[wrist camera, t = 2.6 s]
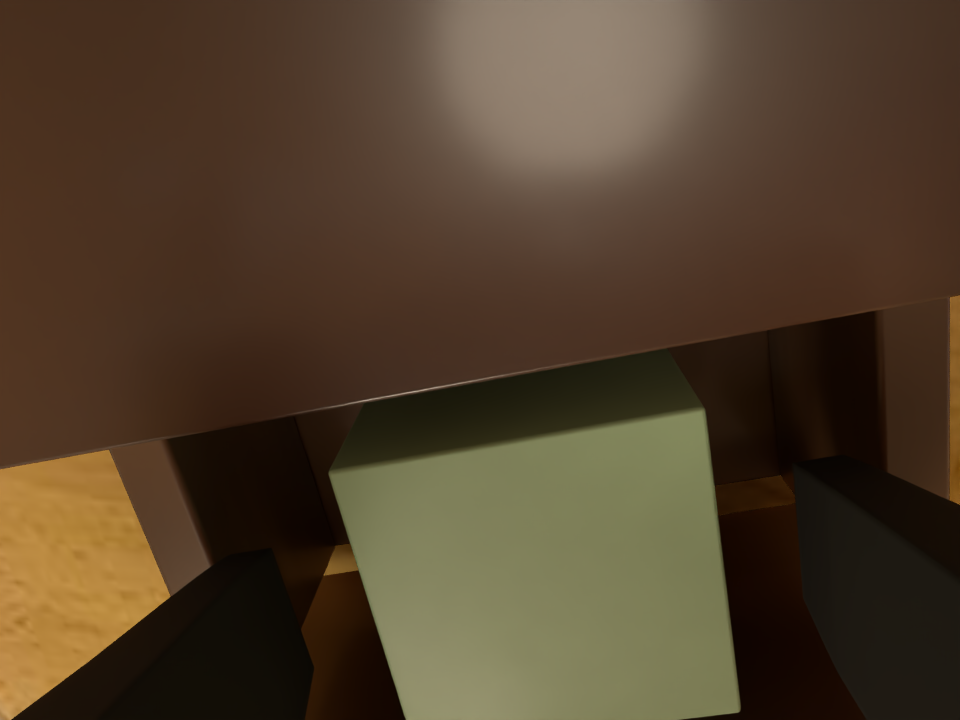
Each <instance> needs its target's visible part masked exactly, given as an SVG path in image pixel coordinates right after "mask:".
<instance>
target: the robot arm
mask: <svg viewBox="0 0 960 720" xmlns="http://www.w3.org/2000/svg"><path fill="white" fill-rule="evenodd" d="M792 464H793V477H794V489H795V502H796V515H797V528H798V540H799V553H800V566H801V579H802V591H803V599H804V601H805V603H806V605H807V608H808V610H809V612H810V614H811V617H812V619H813V621H814V623H815V625H816V628H817V630H818V632H819V634H820V637H821V639H822V641H823V643H824V645H825V647H826V649H827V651H828V653H829V655H830V657H831V660H832V662H833V664H834V666H835V668H836V670H837V672H838V674H839V675H840V677H841V679H842V680H843V682H844V684H845V685H846V687H847V689H848V690H849V692H850V693H851V695H852V697H853V698H854V700H855V702H856V703H857V705H858V706H859V708H860V710H861V711H862V713H863V715H864V716H865V718H866V719H867V720H960V505H959V504H957V503H954V502H952V501H950V500H948V499H945V498H943V497H941V496H939V495H936V494H934V493H932V492H930V491H928V490H925V489H923V488H921V487H919V486H916V485H914V484H912V483H910V482H908V481H905V480H903V479H901V478H899V477H896V476H894V475H892V474H890V473H887V472H885V471H883V470H881V469H878V468H876V467H874V466H871V465H869V464H867V463H864V462H862V461H859V460H857V459H854V458H851V457H849V456H846V455H837V456H830V457H824V458H818V459H812V460H806V461H800V462H794V463H792ZM313 672H314V665H313V662H312V659H311V657H310V654H309V651H308V648H307V645H306V643H305V640H304V637H303V634H302V631H301V629H300V626H299V623H298V620H297V617H296V615H295V612H294V609H293V606H292V603H291V601H290V598H289V595H288V592H287V589H286V587H285V584H284V581H283V578H282V575H281V573H280V570H279V567H278V564H277V561H276V559H275V556H274V553H273V550H272V548H266V549H260V550H254V551H248V552H241V553H235V554H229V555H228V556H226V557H225V558H223V559H222V560H220V561H218V562H217V563H215V564H214V565H212V566H211V567H209V568H208V569H207V570H205V571H204V572H203V573H201V574H200V575H198V576H197V577H196V578H195V579H193V580H192V581H191V582H189V583H188V584H187V585H185V586H184V587H183V588H181V589H180V590H179V591H178V592H176V593H175V594H174V595H173V596H171V597H170V598H169V599H167V600H166V601H165V602H164V603H162V604H161V605H160V606H159V607H157V608H156V609H155V610H154V611H152V612H151V613H150V614H149V615H147V616H146V617H145V618H143V619H142V620H141V621H140V622H138V623H137V624H136V625H135V626H133V627H132V628H131V629H130V630H128V631H127V632H126V633H125V634H123V635H122V636H121V637H120V638H118V639H117V640H116V641H114V642H113V643H112V644H111V645H109V646H108V647H107V648H106V649H104V650H103V651H102V652H101V653H99V654H98V655H97V656H95V657H94V658H93V659H92V660H90V661H89V662H88V663H86V664H85V665H84V666H82V667H81V668H80V669H78V670H77V671H76V672H74V673H73V674H72V675H70V676H69V677H68V678H66V679H65V680H64V681H62V682H61V683H60V684H58V685H57V686H56V687H54V688H53V689H52V690H50V691H49V692H48V693H46V694H45V695H44V696H42V697H41V698H40V699H38V700H37V701H36V702H34V703H33V704H32V705H30V706H29V707H28V708H26V709H25V710H24V711H22V712H21V713H20V714H18V715H17V716H16V717H14V718H13V719H12V720H305V716H306V711H307V706H308V700H309V695H310V689H311V684H312V678H313Z"/></svg>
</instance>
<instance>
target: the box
mask: <svg viewBox="0 0 960 720" xmlns="http://www.w3.org/2000/svg"><path fill="white" fill-rule="evenodd" d="M329 477H330V481H331V484H332V487H333V490H334V493H335V496H336V500H337V503H338V506H339V509H340V512H341V515H342V519H343V522H344V525H345V528H346V531H347V535H348V538H349V541H350V544H351V547H352V550H353V554H354V557H355V560H356V563H357V566H358V570H359V573H360V576H361V579H362V582H363V585H364V589H365V592H366V595H367V598H368V601H369V605H370V608H371V611H372V614H373V617H374V620H375V624H376V627H377V630H378V633H379V636H380V640H381V643H382V646H383V649H384V652H385V655H386V659H387V662H388V665H389V668H390V671H391V675H392V678H393V681H394V684H395V687H396V690H397V694H398V697H399V700H400V703H401V706H402V709H403V713H404V716H405V719H406V720H681V719H690V718H698V717H706V716H714V715H722V714H731V713H738V712H740V710H741V703H740V694H739V686H738V677H737V669H736V661H735V652H734V644H733V636H732V627H731V619H730V610H729V602H728V594H727V585H726V577H725V569H724V560H723V552H722V543H721V535H720V527H719V518H718V510H717V501H716V493H715V485H714V476H713V468H712V460H711V451H710V443H709V434H708V426H707V418H706V410H705V408H704V407H703V405H702V403H701V402H700V400H699V399H698V397H697V395H696V394H695V392H694V391H693V389H692V387H691V386H690V384H689V383H688V381H687V380H686V378H685V376H684V375H683V373H682V372H681V370H680V368H679V367H678V365H677V364H676V362H675V360H674V359H673V357H672V356H671V354H670V352H669V351H668V349H667V348H666V349H661V350H655V351H650V352H644V353H639V354H633V355H628V356H622V357H617V358H611V359H606V360H600V361H595V362H589V363H584V364H578V365H572V366H567V367H561V368H556V369H550V370H545V371H539V372H534V373H528V374H523V375H517V376H512V377H506V378H501V379H495V380H490V381H484V382H479V383H473V384H468V385H462V386H457V387H451V388H446V389H440V390H435V391H429V392H423V393H418V394H412V395H407V396H401V397H396V398H390V399H385V400H379V401H374V402H368V403H364V404H363V406H362V408H361V410H360V412H359V414H358V416H357V418H356V419H355V421H354V423H353V425H352V427H351V429H350V431H349V433H348V435H347V437H346V439H345V441H344V443H343V445H342V447H341V448H340V450H339V452H338V454H337V456H336V458H335V460H334V462H333V464H332V466H331V468H330V470H329Z"/></svg>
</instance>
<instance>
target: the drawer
mask: <svg viewBox="0 0 960 720" xmlns="http://www.w3.org/2000/svg"><path fill="white" fill-rule="evenodd" d="M667 349H668V351H669V352H670V354H671V356H672V357H673V359H674V360H675V362H676V364H677V365H678V367H679V368H680V370H681V372H682V373H683V375H684V376H685V378H686V380H687V381H688V383H689V384H690V386H691V387H692V389H693V391H694V392H695V394H696V395H697V397H698V399H699V400H700V402H701V403H702V405H703V407H704V408H705V410H706V418H707V426H708V434H709V443H710V451H711V460H712V468H713V476H714V485H722V484H728V483H734V482H741V481H747V480H753V479H760V478H766V477H772V476H779V475H781V477H782V479H783V480H784V481H785V483H786V484H787V486H788V487H789V488H790V490H791V491H792V492H793V494H794V495H795V489H794V477H793V464H792V463H794V462H800V461H806V460H812V459H818V458H824V457H830V456H837V455H846V456H849V457H851V458H854V459H857V460H859V461H862V462H864V463H867V464H869V465H871V466H874V467H876V468H878V469H881V470H883V471H885V472H887V473H890V474H892V475H894V476H896V477H899V478H901V479H903V480H905V481H908V482H910V483H912V484H914V485H916V486H919V487H921V488H923V489H925V490H928V491H930V492H932V493H934V494H936V495H939V496H941V497H943V498H945V499H948V500H949V477H950V297H948V298H942V299H937V300H931V301H926V302H920V303H915V304H909V305H904V306H898V307H893V308H887V309H882V310H876V311H870V312H865V313H859V314H854V315H848V316H843V317H837V318H832V319H826V320H821V321H815V322H810V323H804V324H799V325H793V326H788V327H782V328H777V329H771V330H766V331H760V332H755V333H749V334H744V335H738V336H733V337H727V338H721V339H716V340H710V341H705V342H699V343H694V344H688V345H683V346H677V347H672V348H667ZM363 404H364V403H363ZM363 404H357V405H352V406H346V407H341V408H335V409H330V410H324V411H319V412H313V413H308V414H302V415H297V416H291V417H285V418H280V419H274V420H269V421H263V422H258V423H252V424H247V425H241V426H236V427H230V428H225V429H219V430H214V431H208V432H203V433H197V434H192V435H186V436H181V437H175V438H170V439H164V440H159V441H153V442H148V443H142V444H136V445H131V446H125V447H120V448H114V449H109V450H110V453H111V455H112V458H113V460H114V462H115V465H116V467H117V470H118V472H119V474H120V477H121V479H122V481H123V484H124V486H125V489H126V491H127V493H128V496H129V498H130V500H131V503H132V505H133V508H134V510H135V512H136V515H137V517H138V519H139V522H140V524H141V527H142V529H143V531H144V534H145V536H146V538H147V541H148V543H149V546H150V548H151V550H152V553H153V555H154V558H155V560H156V562H157V565H158V567H159V569H160V572H161V574H162V577H163V579H164V581H165V584H166V586H167V588H168V591H169V593H170V596H173V595H174V594H175V593H176V592H178V591H179V590H180V589H181V588H183V587H184V586H185V585H187V584H188V583H189V582H191V581H192V580H193V579H195V578H196V577H197V576H198V575H200V574H201V573H203V572H204V571H205V570H207V569H208V568H209V567H211V566H212V565H214V564H215V563H217V562H218V561H220V560H222V559H223V558H225V557H226V556H228V555H229V554H235V553H241V552H248V551H254V550H260V549H266V548H272V550H273V553H274V556H275V559H276V561H277V564H278V567H279V570H280V573H281V575H282V578H283V581H284V584H285V587H286V589H287V592H288V595H289V598H290V601H291V603H292V606H293V609H294V612H295V615H296V617H297V620H298V623H299V626H300V629H301V631H302V634H303V637H304V640H305V643H306V645H307V648H308V651H309V654H310V657H311V659H312V662H313V665H314V672H313V678H312V684H311V689H310V695H309V700H308V706H307V711H306V716H305V720H406V719H405V716H404V713H403V709H402V706H401V703H400V700H399V697H398V694H397V690H396V687H395V684H394V681H393V678H392V675H391V671H390V668H389V665H388V662H387V659H386V655H385V652H384V649H383V646H382V643H381V640H380V636H379V633H378V630H377V627H376V624H375V620H374V617H373V614H372V611H371V608H370V605H369V601H368V598H367V595H366V592H365V589H364V585H363V582H362V579H361V576H360V573H359V570H358V571H352V572H345V573H339V574H332V575H326V576H323V575H324V573H325V570H326V568H327V565H328V563H329V561H330V558H331V556H332V553H333V551H334V549H335V546H336V545H343V544H349V543H350V541H349V538H348V535H347V531H346V528H345V525H344V522H343V519H342V515H341V512H340V509H339V506H338V503H337V500H336V496H335V493H334V490H333V487H332V484H331V481H330V477H329V470H330V468H331V466H332V464H333V462H334V460H335V458H336V456H337V454H338V452H339V450H340V448H341V447H342V445H343V443H344V441H345V439H346V437H347V435H348V433H349V431H350V429H351V427H352V425H353V423H354V421H355V419H356V418H357V416H358V414H359V412H360V410H361V408H362V406H363ZM718 518H719V527H720V535H721V543H722V552H723V560H724V569H725V577H726V585H727V594H728V602H729V610H730V619H731V627H732V636H733V644H734V652H735V661H736V669H737V677H738V686H739V694H740V703H741V710H740V712H738V713H731V714H722V715H714V716H706V717H698V718H690V719H681V720H867V719H866V718H865V716H864V715H863V713H862V711H861V710H860V708H859V706H858V705H857V703H856V702H855V700H854V698H853V697H852V695H851V693H850V692H849V690H848V689H847V687H846V685H845V684H844V682H843V680H842V679H841V677H840V675H839V674H838V672H837V670H836V668H835V666H834V664H833V662H832V660H831V657H830V655H829V653H828V651H827V649H826V647H825V645H824V643H823V641H822V639H821V637H820V634H819V632H818V630H817V628H816V625H815V623H814V621H813V619H812V617H811V614H810V612H809V610H808V608H807V605H806V603H805V601H804V599H803V591H802V579H801V566H800V553H799V540H798V528H797V515H796V503H795V504H788V505H782V506H775V507H769V508H762V509H756V510H749V511H743V512H736V513H730V514H723V515H718Z"/></svg>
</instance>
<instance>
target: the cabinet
mask: <svg viewBox="0 0 960 720" xmlns="http://www.w3.org/2000/svg"><path fill="white" fill-rule="evenodd" d="M959 295H960V0H0V469H4V468H10V467H15V466H21V465H26V464H32V463H37V462H43V461H48V460H54V459H59V458H65V457H70V456H76V455H81V454H87V453H92V452H98V451H103V450H109V449H114V448H120V447H125V446H131V445H136V444H142V443H148V442H153V441H159V440H164V439H170V438H175V437H181V436H186V435H192V434H197V433H203V432H208V431H214V430H219V429H225V428H230V427H236V426H241V425H247V424H252V423H258V422H263V421H269V420H274V419H280V418H285V417H291V416H297V415H302V414H308V413H313V412H319V411H324V410H330V409H335V408H341V407H346V406H352V405H357V404H363V403H368V402H374V401H379V400H385V399H390V398H396V397H401V396H407V395H412V394H418V393H423V392H429V391H435V390H440V389H446V388H451V387H457V386H462V385H468V384H473V383H479V382H484V381H490V380H495V379H501V378H506V377H512V376H517V375H523V374H528V373H534V372H539V371H545V370H550V369H556V368H561V367H567V366H572V365H578V364H584V363H589V362H595V361H600V360H606V359H611V358H617V357H622V356H628V355H633V354H639V353H644V352H650V351H655V350H661V349H666V348H672V347H677V346H683V345H688V344H694V343H699V342H705V341H710V340H716V339H721V338H727V337H733V336H738V335H744V334H749V333H755V332H760V331H766V330H771V329H777V328H782V327H788V326H793V325H799V324H804V323H810V322H815V321H821V320H826V319H832V318H837V317H843V316H848V315H854V314H859V313H865V312H870V311H876V310H882V309H887V308H893V307H898V306H904V305H909V304H915V303H920V302H926V301H931V300H937V299H942V298H948V297H953V296H959Z"/></svg>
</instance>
